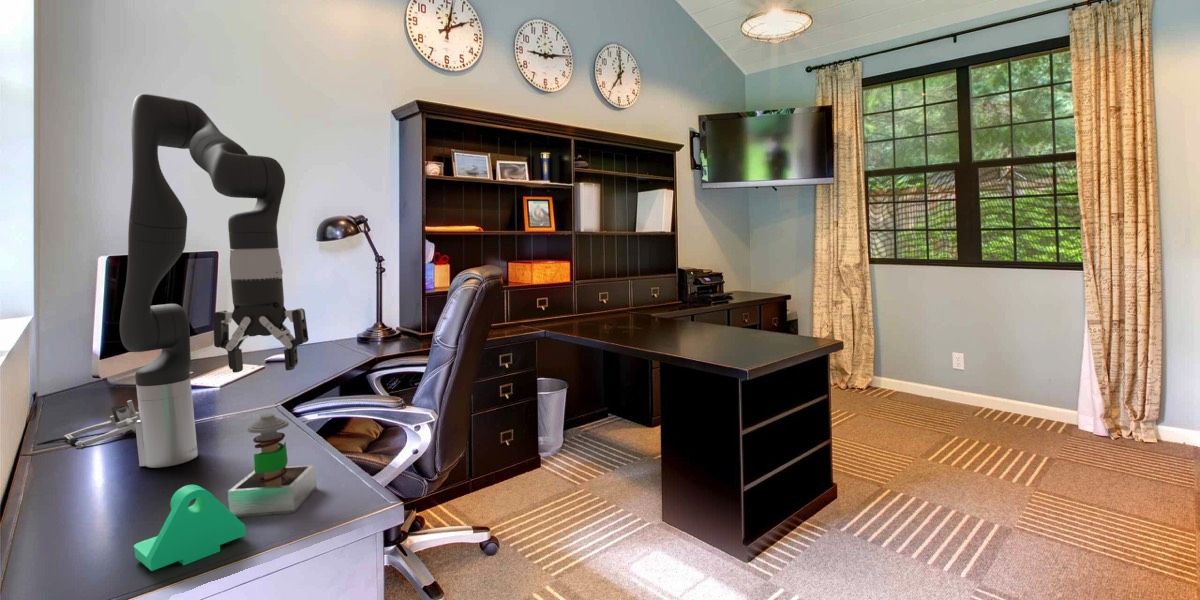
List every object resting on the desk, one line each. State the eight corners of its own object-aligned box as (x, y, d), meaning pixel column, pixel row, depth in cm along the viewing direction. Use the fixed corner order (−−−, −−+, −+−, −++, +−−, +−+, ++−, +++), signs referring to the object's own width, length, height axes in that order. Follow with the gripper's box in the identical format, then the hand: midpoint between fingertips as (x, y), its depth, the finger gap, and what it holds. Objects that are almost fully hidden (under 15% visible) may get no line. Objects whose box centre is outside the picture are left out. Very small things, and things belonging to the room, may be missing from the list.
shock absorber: (283, 488, 109) (276, 408, 107) (301, 496, 105) (295, 413, 104) (246, 501, 104) (239, 417, 102) (264, 510, 100) (256, 423, 98)
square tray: (230, 517, 99) (227, 491, 98) (258, 492, 109) (256, 468, 108) (294, 512, 100) (292, 487, 99) (316, 488, 110) (314, 464, 109)
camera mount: (225, 528, 95) (219, 466, 94) (246, 541, 91) (240, 476, 90) (133, 562, 86) (126, 493, 85) (152, 578, 81) (144, 506, 80)
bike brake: (140, 420, 156) (40, 454, 141) (133, 396, 155) (30, 427, 140) (157, 430, 148) (52, 467, 133) (149, 404, 146) (42, 439, 131)
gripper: (199, 278, 96) (208, 377, 97) (292, 276, 97) (299, 373, 99) (223, 275, 103) (231, 367, 105) (309, 273, 105) (315, 364, 106)
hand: (264, 370), depth 102 cm, fingers open, 8 cm apart
